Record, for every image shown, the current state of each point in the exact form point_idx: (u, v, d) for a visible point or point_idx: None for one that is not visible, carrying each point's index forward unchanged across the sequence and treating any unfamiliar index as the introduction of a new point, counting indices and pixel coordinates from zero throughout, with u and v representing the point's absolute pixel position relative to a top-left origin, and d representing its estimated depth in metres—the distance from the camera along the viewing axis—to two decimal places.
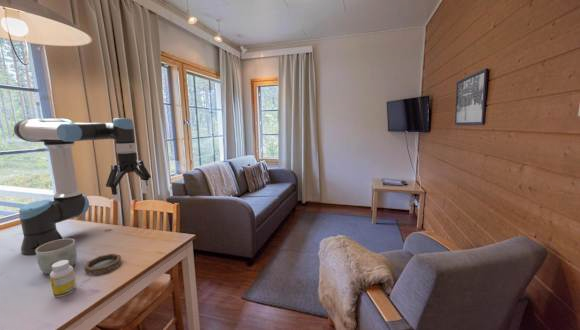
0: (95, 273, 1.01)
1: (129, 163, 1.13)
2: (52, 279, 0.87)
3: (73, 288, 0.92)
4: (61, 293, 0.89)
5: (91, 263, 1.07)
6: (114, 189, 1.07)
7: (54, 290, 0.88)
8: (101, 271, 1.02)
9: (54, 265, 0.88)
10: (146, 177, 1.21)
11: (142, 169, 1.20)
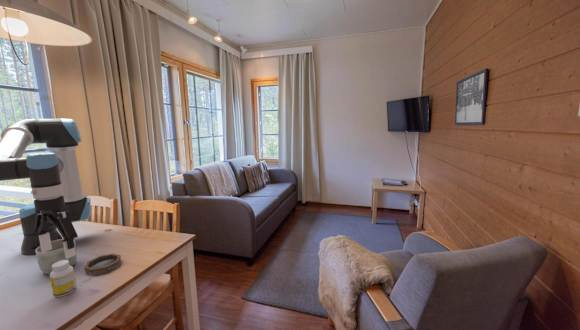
0: (95, 273, 1.01)
1: (47, 212, 0.85)
2: (52, 279, 0.87)
3: (73, 288, 0.92)
4: (61, 293, 0.89)
5: (91, 263, 1.07)
6: None
7: (54, 290, 0.88)
8: (101, 271, 1.02)
9: (54, 265, 0.88)
10: (64, 237, 0.84)
11: None
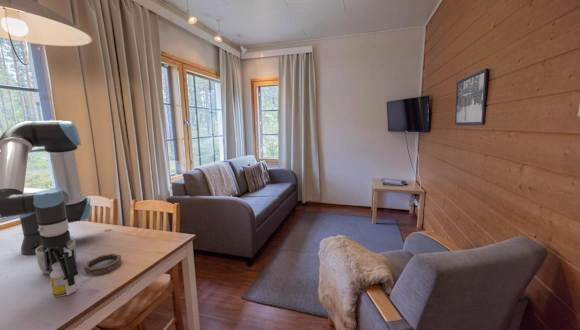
0: (95, 273, 1.01)
1: (53, 247, 0.88)
2: (52, 279, 0.87)
3: None
4: (61, 293, 0.89)
5: (91, 263, 1.07)
6: None
7: (54, 290, 0.88)
8: (101, 271, 1.02)
9: (54, 265, 0.88)
10: (66, 275, 0.88)
11: None
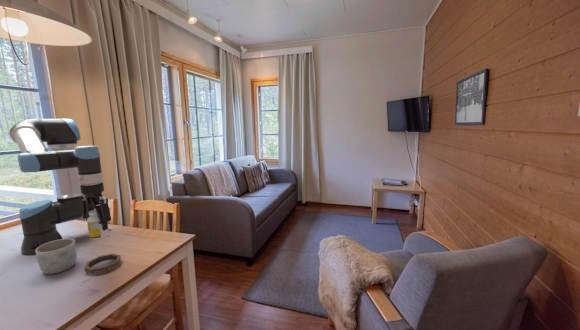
0: (95, 273, 1.01)
1: (90, 195, 1.01)
2: (89, 223, 1.01)
3: None
4: (96, 236, 1.02)
5: (91, 263, 1.07)
6: None
7: (91, 233, 1.01)
8: (101, 271, 1.02)
9: (91, 212, 1.01)
10: (101, 220, 1.01)
11: None
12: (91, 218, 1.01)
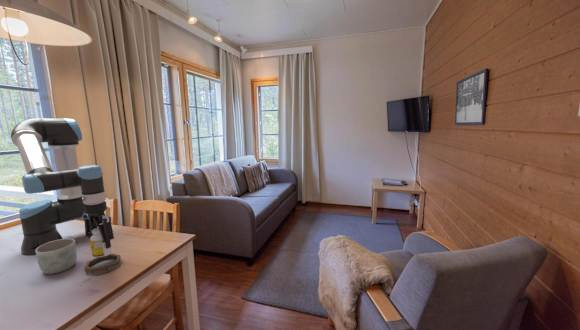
0: (95, 273, 1.01)
1: (93, 214, 1.02)
2: (92, 242, 1.02)
3: None
4: (99, 254, 1.03)
5: (91, 263, 1.07)
6: None
7: (94, 251, 1.03)
8: (101, 271, 1.02)
9: (94, 230, 1.03)
10: (104, 239, 1.02)
11: None
12: (94, 237, 1.02)
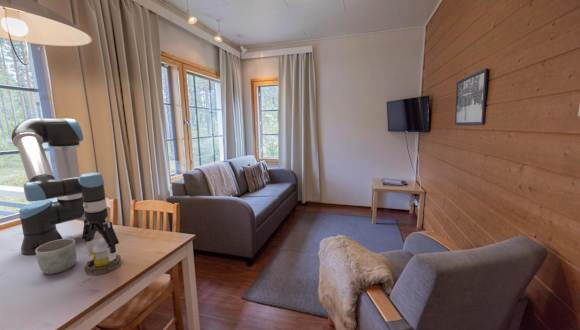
0: (95, 273, 1.01)
1: (94, 222, 1.03)
2: (95, 253, 1.03)
3: (111, 262, 1.07)
4: (101, 265, 1.04)
5: (91, 263, 1.07)
6: (87, 242, 1.07)
7: (96, 263, 1.04)
8: (101, 271, 1.02)
9: (96, 242, 1.04)
10: (109, 244, 1.02)
11: None
12: (96, 248, 1.03)
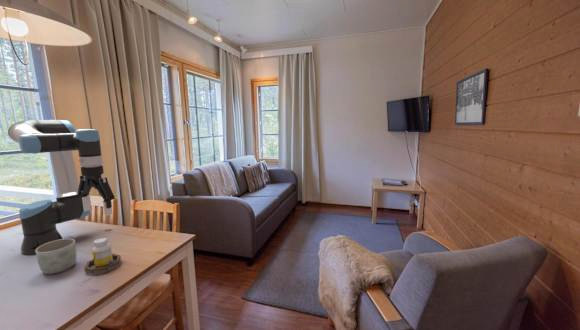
0: (95, 273, 1.01)
1: (90, 177, 1.05)
2: (94, 253, 1.03)
3: (111, 262, 1.07)
4: (101, 265, 1.04)
5: (91, 263, 1.07)
6: None
7: (96, 263, 1.04)
8: (101, 271, 1.02)
9: (96, 242, 1.04)
10: (104, 198, 1.03)
11: None
12: (96, 248, 1.03)
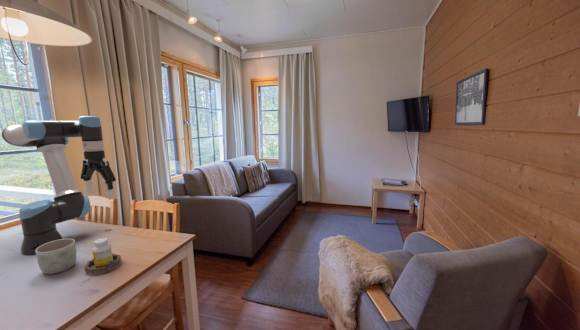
0: (95, 273, 1.01)
1: (92, 161, 1.12)
2: (94, 253, 1.03)
3: (111, 262, 1.07)
4: (101, 265, 1.04)
5: (91, 263, 1.07)
6: (85, 182, 1.17)
7: (96, 263, 1.04)
8: (101, 271, 1.02)
9: (96, 242, 1.04)
10: (106, 180, 1.11)
11: None
12: (96, 248, 1.03)
